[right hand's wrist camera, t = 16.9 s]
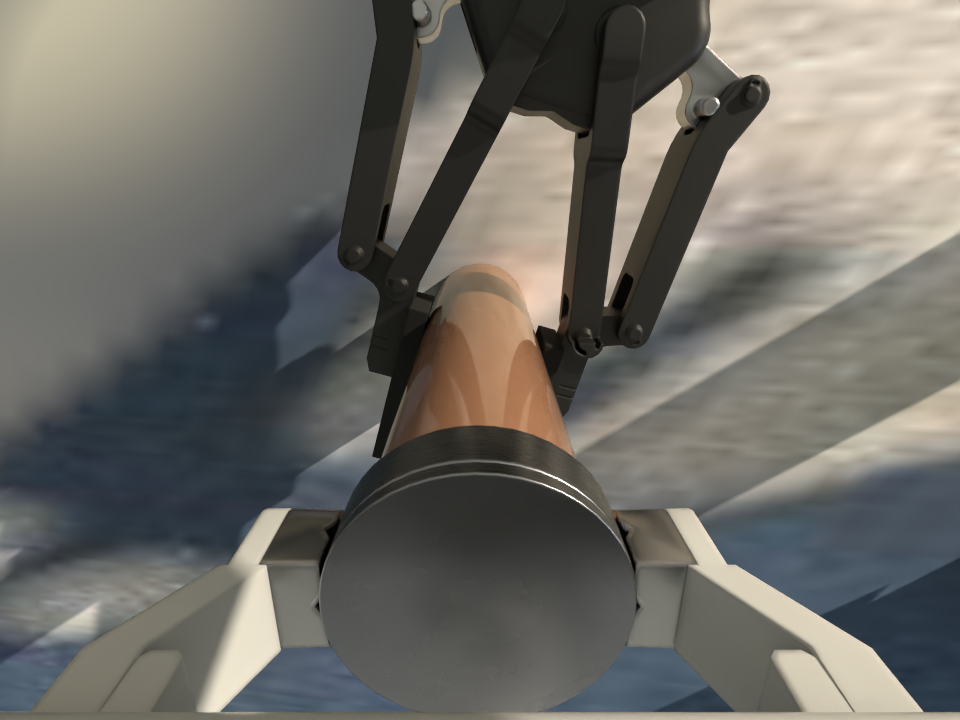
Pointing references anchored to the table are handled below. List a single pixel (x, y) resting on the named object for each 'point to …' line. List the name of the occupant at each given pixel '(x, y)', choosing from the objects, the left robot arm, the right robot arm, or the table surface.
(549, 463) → the lid
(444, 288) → the copper grooved cylinder
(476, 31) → the left robot arm
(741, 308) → the table surface
